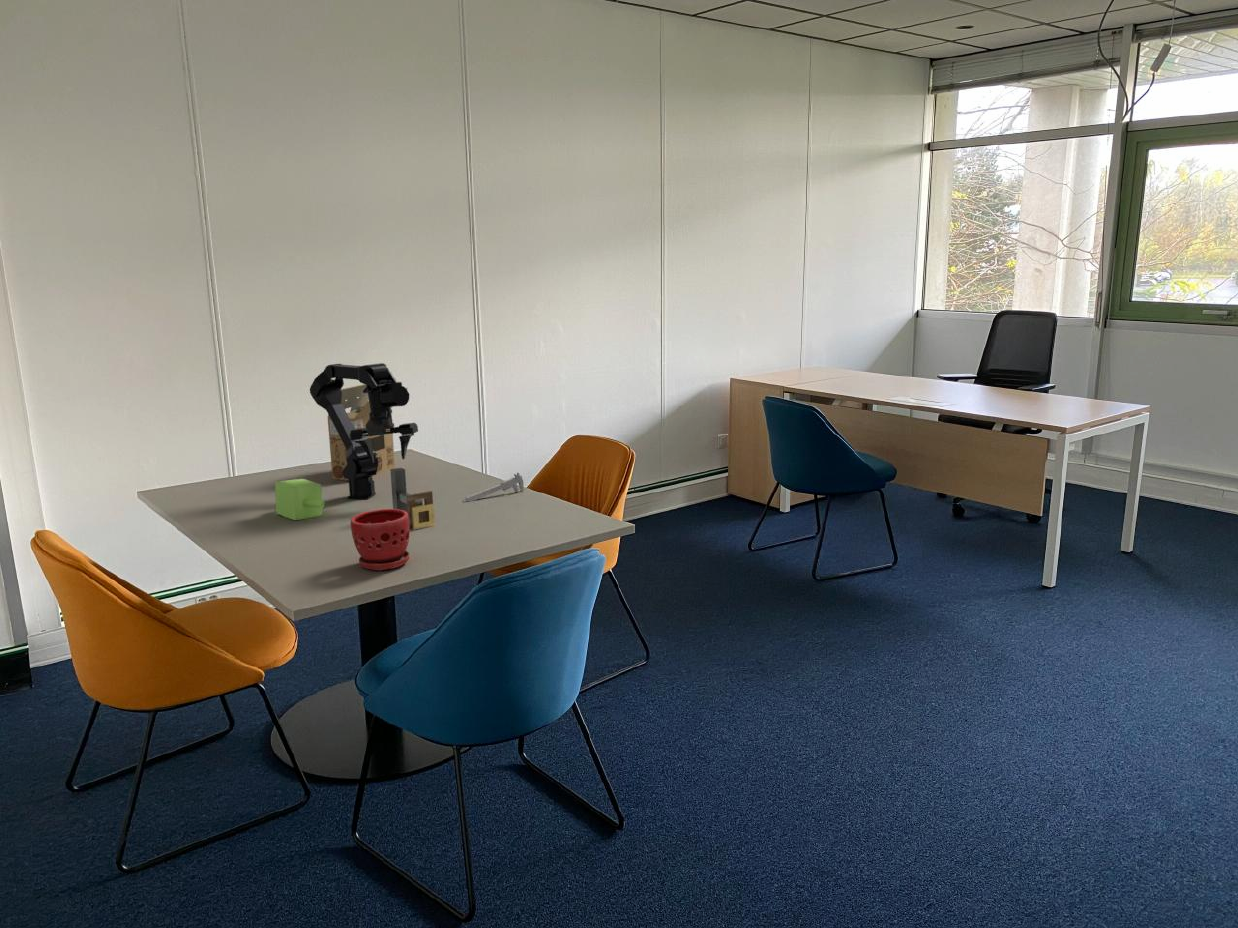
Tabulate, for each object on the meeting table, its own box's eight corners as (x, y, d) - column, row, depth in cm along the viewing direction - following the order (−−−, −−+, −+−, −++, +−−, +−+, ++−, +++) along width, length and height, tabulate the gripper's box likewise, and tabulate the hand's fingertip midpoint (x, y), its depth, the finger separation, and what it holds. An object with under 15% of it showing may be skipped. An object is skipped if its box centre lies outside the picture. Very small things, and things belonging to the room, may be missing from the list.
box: (378, 483, 298) (371, 390, 292) (326, 478, 305) (319, 387, 298) (413, 469, 317) (408, 381, 311) (364, 465, 324) (357, 379, 317)
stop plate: (404, 525, 250) (402, 493, 248) (428, 521, 254) (426, 489, 252) (410, 528, 247) (407, 495, 245) (434, 523, 251) (432, 491, 249)
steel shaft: (393, 514, 260) (390, 469, 257) (403, 512, 261) (400, 467, 259) (415, 525, 249) (412, 478, 246) (425, 523, 250) (422, 476, 248)
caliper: (522, 491, 286) (521, 471, 284) (523, 492, 285) (523, 472, 284) (462, 502, 274) (461, 481, 273) (464, 503, 273) (463, 482, 272)
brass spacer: (412, 528, 247) (410, 506, 246) (432, 524, 250) (431, 503, 249) (414, 529, 246) (412, 507, 245) (434, 525, 250) (433, 504, 248)
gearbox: (336, 518, 259) (335, 485, 258) (303, 524, 252) (302, 490, 250) (303, 506, 271) (302, 474, 270) (271, 512, 264) (270, 479, 262)
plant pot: (393, 552, 227) (390, 504, 224) (422, 564, 218) (419, 515, 215) (344, 564, 218) (340, 515, 216) (371, 577, 209) (367, 526, 206)
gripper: (338, 413, 261) (347, 468, 263) (403, 406, 259) (411, 461, 262) (352, 410, 272) (360, 462, 274) (414, 403, 270) (422, 456, 273)
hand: (388, 460), depth 270 cm, fingers open, 9 cm apart
